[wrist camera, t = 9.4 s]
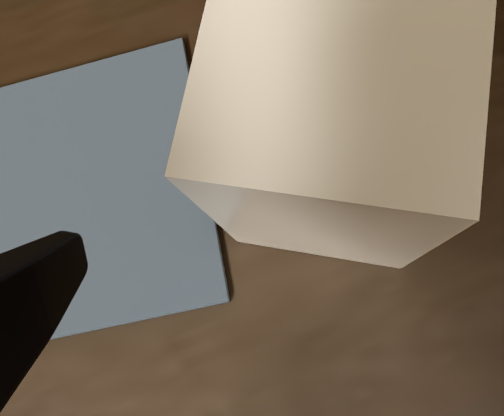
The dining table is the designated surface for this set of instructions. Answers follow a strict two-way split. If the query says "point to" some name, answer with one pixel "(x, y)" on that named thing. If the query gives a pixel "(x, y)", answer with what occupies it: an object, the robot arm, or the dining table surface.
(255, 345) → the dining table surface
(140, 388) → the dining table surface
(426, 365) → the dining table surface
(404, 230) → the white rectangular block
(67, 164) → the mat
